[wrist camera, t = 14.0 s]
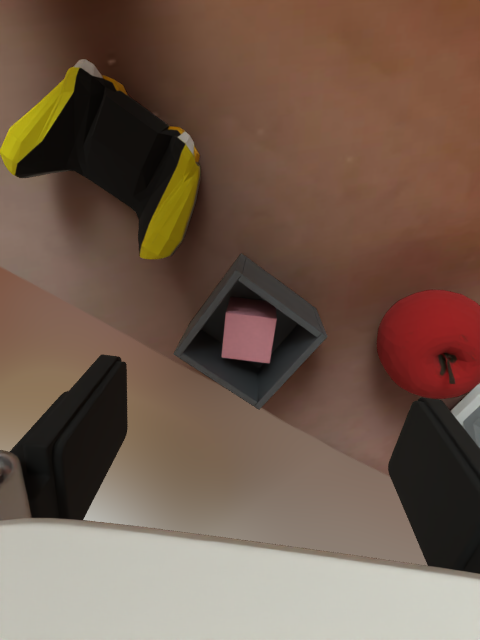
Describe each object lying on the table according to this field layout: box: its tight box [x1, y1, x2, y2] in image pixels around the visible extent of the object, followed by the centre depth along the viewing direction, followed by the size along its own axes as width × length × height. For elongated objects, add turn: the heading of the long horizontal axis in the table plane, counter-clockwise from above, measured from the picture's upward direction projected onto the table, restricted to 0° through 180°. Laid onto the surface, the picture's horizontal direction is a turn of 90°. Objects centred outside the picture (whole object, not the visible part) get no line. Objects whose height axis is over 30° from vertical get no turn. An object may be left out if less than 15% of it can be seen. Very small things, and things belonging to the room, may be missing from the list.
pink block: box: [221, 297, 277, 363], centre depth 32 cm, size 4×4×4 cm
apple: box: [377, 290, 480, 399], centre depth 29 cm, size 9×9×10 cm
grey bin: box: [174, 253, 327, 409], centre depth 31 cm, size 9×9×6 cm
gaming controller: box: [0, 59, 201, 259], centre depth 27 cm, size 15×6×10 cm
